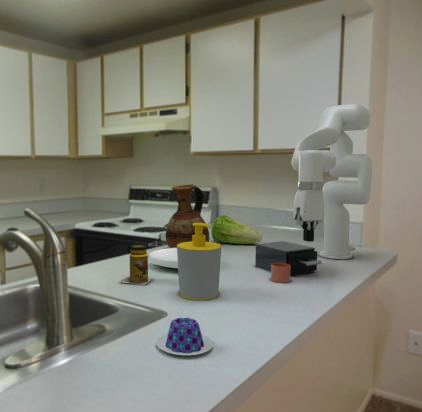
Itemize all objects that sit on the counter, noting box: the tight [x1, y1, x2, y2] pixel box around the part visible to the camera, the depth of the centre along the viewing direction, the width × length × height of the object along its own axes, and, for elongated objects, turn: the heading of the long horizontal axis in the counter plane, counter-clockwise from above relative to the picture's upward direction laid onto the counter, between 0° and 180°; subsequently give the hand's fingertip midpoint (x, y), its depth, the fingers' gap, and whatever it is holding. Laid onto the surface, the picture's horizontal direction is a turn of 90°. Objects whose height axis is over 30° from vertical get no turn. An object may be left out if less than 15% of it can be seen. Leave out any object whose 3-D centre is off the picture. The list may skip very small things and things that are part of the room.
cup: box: [270, 263, 291, 284], centre depth 135 cm, size 6×6×5 cm
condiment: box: [120, 244, 152, 286], centre depth 136 cm, size 7×8×12 cm
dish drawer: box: [287, 250, 323, 275], centre depth 146 cm, size 19×12×7 cm, turn 25°
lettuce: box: [211, 214, 263, 245], centre depth 201 cm, size 14×24×14 cm
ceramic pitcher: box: [165, 184, 210, 248], centre depth 186 cm, size 20×20×30 cm
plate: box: [148, 247, 178, 269], centre depth 157 cm, size 28×6×27 cm
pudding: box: [155, 317, 214, 356], centre depth 86 cm, size 12×12×5 cm
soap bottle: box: [177, 222, 222, 301], centre depth 121 cm, size 13×13×21 cm
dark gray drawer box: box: [254, 240, 316, 276], centre depth 150 cm, size 16×14×9 cm
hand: (308, 240), depth 139 cm, fingers closed
